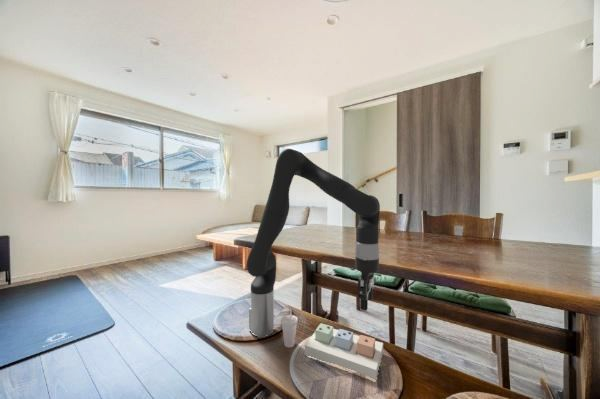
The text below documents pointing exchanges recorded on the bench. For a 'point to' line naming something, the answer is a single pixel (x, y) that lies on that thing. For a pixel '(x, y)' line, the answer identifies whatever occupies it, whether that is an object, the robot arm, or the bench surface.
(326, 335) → the tile two
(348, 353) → the board
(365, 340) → the tile one
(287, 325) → the smoothie
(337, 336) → the tile three
